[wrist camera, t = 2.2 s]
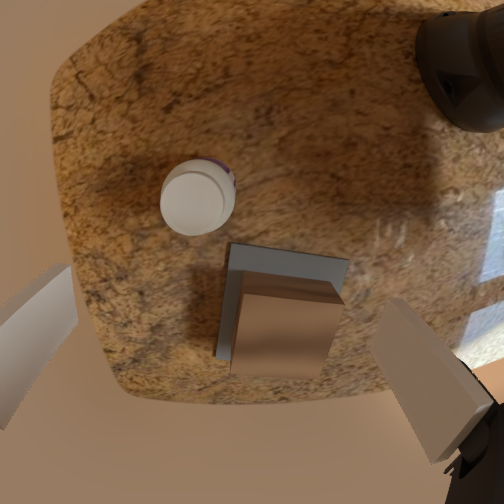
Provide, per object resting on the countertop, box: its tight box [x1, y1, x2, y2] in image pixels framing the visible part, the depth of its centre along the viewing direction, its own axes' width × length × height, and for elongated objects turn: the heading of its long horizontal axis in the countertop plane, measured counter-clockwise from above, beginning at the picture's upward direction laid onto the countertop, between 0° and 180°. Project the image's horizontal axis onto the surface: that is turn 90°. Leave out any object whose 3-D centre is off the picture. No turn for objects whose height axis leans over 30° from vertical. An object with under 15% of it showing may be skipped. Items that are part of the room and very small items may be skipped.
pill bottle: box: [160, 157, 236, 236], centre depth 22 cm, size 5×5×10 cm
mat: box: [215, 242, 349, 361], centre depth 31 cm, size 14×12×1 cm
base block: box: [230, 270, 345, 379], centre depth 29 cm, size 9×9×5 cm
